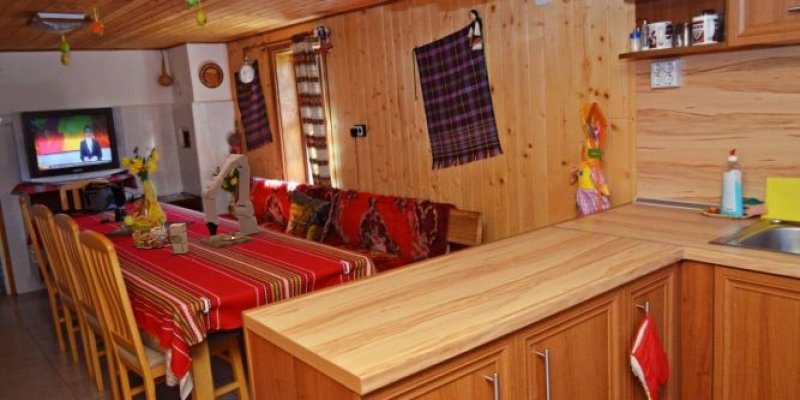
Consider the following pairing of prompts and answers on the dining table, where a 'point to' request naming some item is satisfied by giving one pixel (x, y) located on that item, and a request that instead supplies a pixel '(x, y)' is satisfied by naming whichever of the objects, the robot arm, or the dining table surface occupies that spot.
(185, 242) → the syrup box
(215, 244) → the base board
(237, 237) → the lever handle
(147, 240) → the candy landscape model
